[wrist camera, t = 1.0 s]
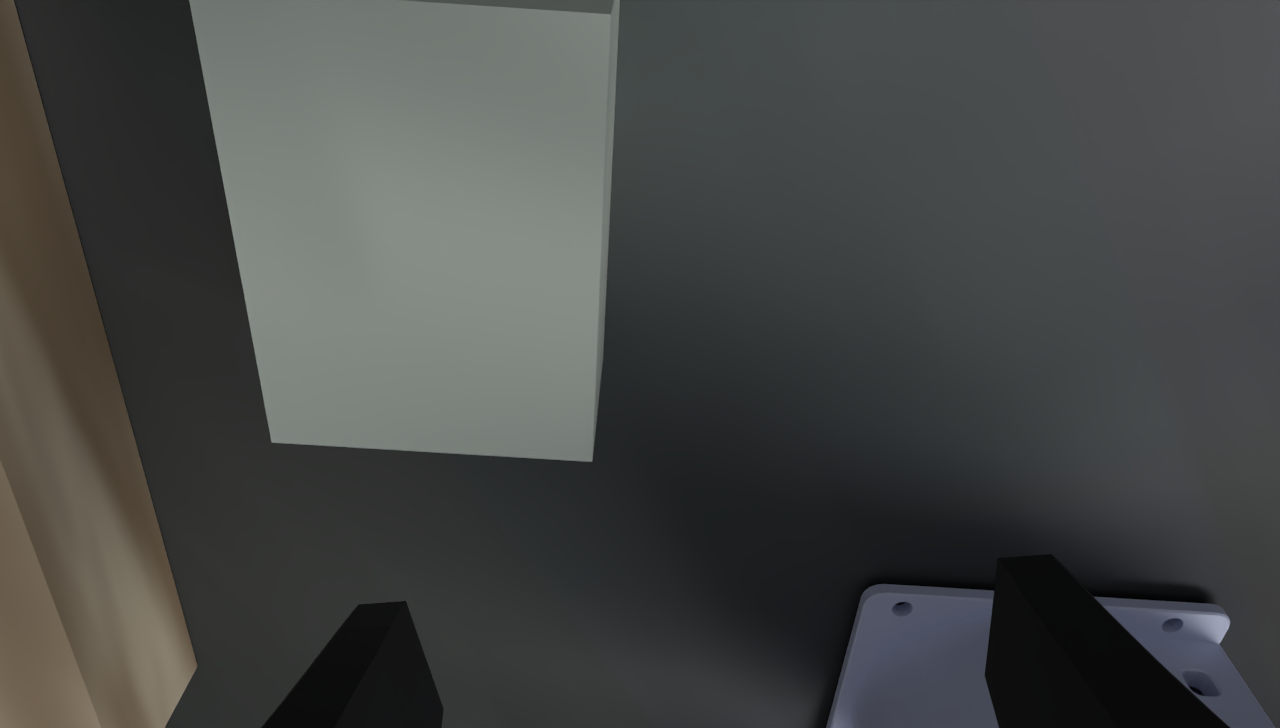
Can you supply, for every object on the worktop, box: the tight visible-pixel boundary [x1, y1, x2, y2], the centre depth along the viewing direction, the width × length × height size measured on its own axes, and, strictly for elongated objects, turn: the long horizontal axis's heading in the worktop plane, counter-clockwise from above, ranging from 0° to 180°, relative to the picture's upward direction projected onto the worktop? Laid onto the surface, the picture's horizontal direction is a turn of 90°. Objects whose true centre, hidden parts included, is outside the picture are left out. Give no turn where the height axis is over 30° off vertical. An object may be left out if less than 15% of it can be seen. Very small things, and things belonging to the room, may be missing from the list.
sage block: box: [189, 0, 620, 462], centre depth 17 cm, size 6×8×4 cm
